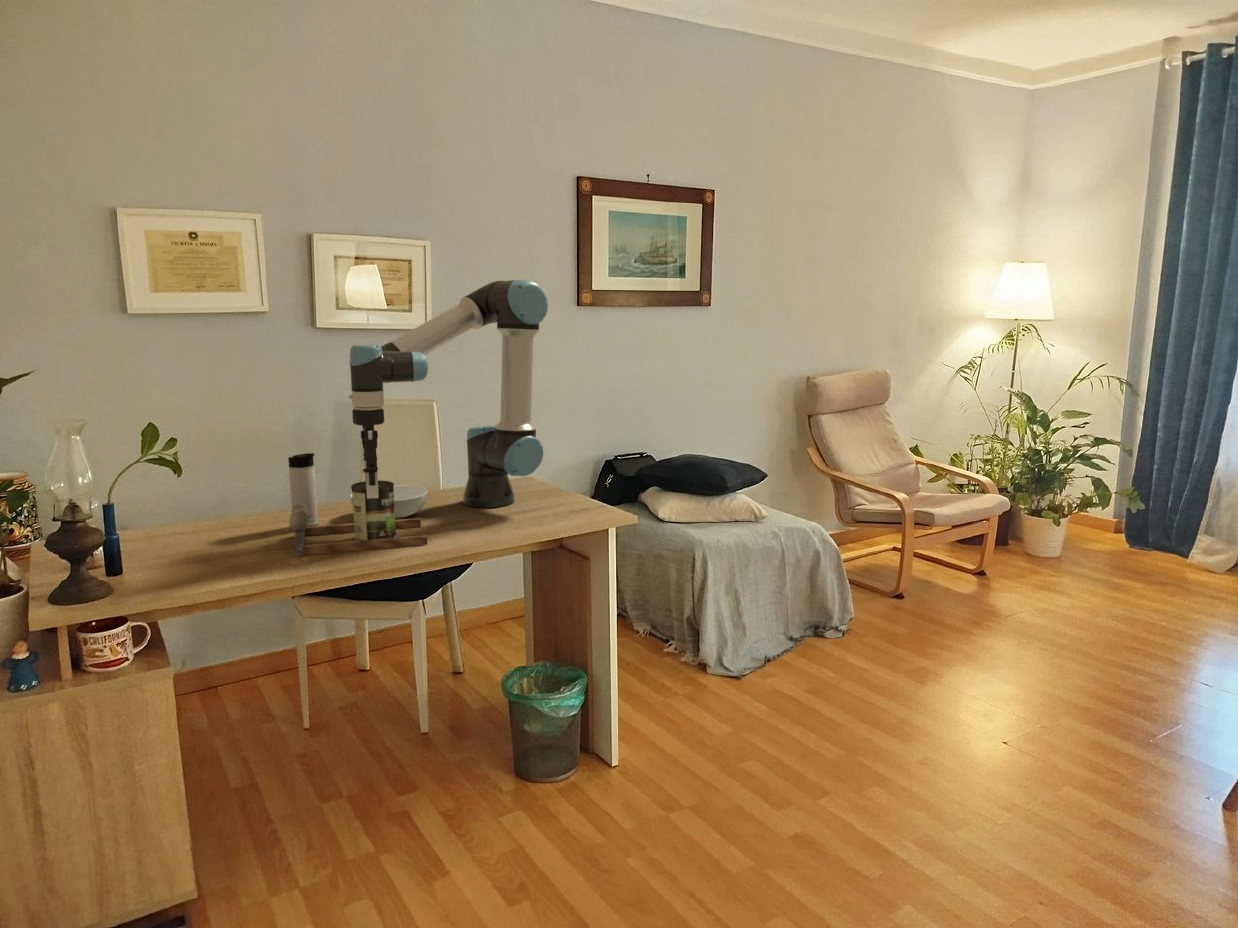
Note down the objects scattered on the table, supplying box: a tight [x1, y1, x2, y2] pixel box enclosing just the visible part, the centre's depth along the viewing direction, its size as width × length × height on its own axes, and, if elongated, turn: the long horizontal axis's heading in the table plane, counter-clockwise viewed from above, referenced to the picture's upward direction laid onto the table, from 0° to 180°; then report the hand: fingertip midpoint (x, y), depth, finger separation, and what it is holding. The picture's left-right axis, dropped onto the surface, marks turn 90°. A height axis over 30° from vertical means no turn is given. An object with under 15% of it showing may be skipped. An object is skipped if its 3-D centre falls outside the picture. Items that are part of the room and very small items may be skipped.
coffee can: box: [350, 480, 397, 541], centre depth 215 cm, size 10×10×14 cm
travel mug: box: [287, 452, 319, 527], centre depth 225 cm, size 6×7×20 cm
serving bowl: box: [349, 484, 429, 520], centre depth 238 cm, size 21×21×7 cm
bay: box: [289, 504, 428, 557], centre depth 214 cm, size 32×19×9 cm, turn 108°
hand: (371, 492), depth 214 cm, fingers open, 13 cm apart
